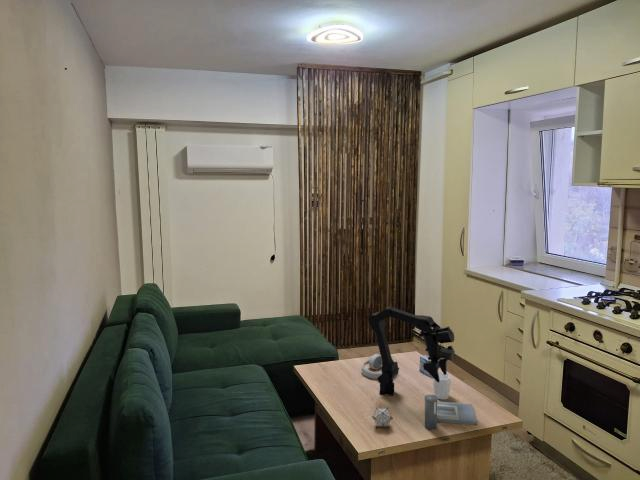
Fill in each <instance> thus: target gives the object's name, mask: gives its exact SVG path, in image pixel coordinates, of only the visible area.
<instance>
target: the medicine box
mask: <svg viewBox="0 0 640 480" xmlns="http://www.w3.org/2000/svg"><path fill="white" fill-rule="evenodd" d="M428 357H429V355H426V354H425V355H420V356H419V371H418V372H420V373H422V374H423V375H425V376H427V377H428V378H429V377H430V378H431V377H432V376H431V374H430V373H429V372H428V371H426V370H424V368H423V365H424V363H425V362H426V361H431V360H428Z"/></svg>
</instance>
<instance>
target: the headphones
mask: <svg viewBox="0 0 640 480" xmlns="http://www.w3.org/2000/svg"><path fill="white" fill-rule="evenodd" d="M392 360H393V361H394V362H396V361H395V359H394V358H392ZM366 365H368V367H369V368H370V369H373V370H374V371H375V370H376V371H377V370H378V369H380V368H382V358H381V355H380V354H379V353H374V354H372V355H371V356H370V357H369V358H368V360H366V361H365V362H363V363H362V365H361V372H362V374H363V376H364V377H366V378H369V379H371V380H375V381H378V379H377V378H378V377H379V376H381V375H382V372H374V371H371V370H369V369H367V368H366V367H365V366H366Z"/></svg>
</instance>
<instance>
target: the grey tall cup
mask: <svg viewBox="0 0 640 480" xmlns="http://www.w3.org/2000/svg"><path fill="white" fill-rule="evenodd" d="M438 400H439V399H438V398H437V396H435V395H434V394H426V395H425V396H424V428H425V429H427V430H430V431H435V430H437V428H438V421H437V401H438Z"/></svg>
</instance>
